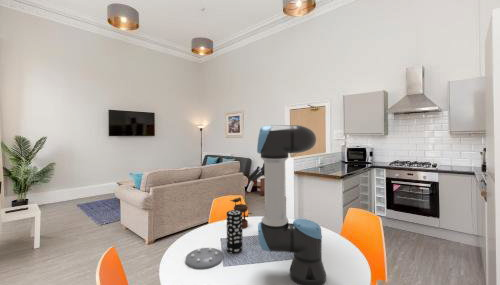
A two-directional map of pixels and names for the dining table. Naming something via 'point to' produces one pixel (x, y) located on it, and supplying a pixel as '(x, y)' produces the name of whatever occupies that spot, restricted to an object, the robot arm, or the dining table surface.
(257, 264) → the dining table surface
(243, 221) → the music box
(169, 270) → the dining table surface
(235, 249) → the white-spotted black cylinder
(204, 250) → the stub plate
